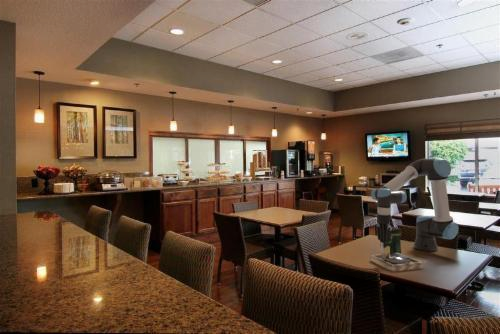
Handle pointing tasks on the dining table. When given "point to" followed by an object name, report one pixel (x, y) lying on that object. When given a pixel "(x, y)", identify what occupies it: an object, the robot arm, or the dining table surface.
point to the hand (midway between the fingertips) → (383, 252)
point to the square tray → (396, 267)
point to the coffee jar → (395, 241)
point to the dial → (395, 257)
